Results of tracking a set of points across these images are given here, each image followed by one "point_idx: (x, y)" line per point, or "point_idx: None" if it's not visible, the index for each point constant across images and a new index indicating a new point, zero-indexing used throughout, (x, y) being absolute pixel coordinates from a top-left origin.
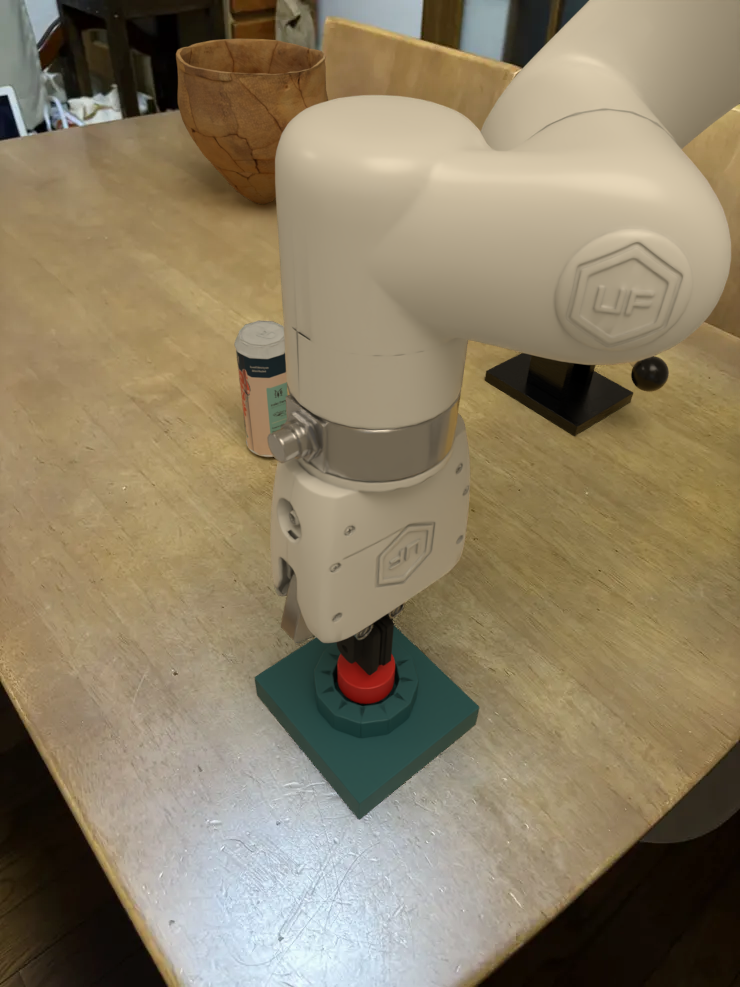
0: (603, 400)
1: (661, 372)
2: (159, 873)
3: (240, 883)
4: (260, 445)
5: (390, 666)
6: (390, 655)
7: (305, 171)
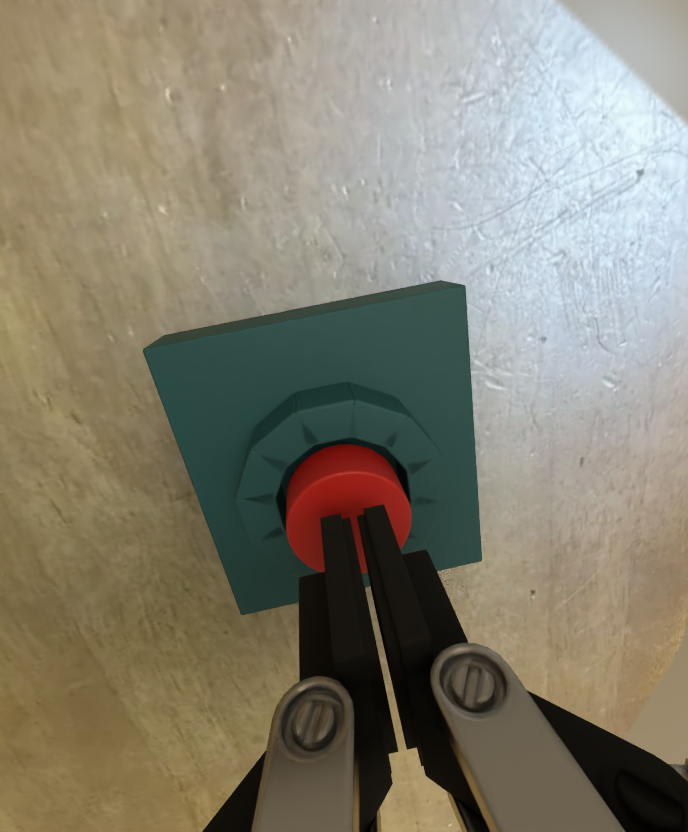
0: None
1: None
2: None
3: (634, 283)
4: None
5: (306, 502)
6: (325, 534)
7: None
